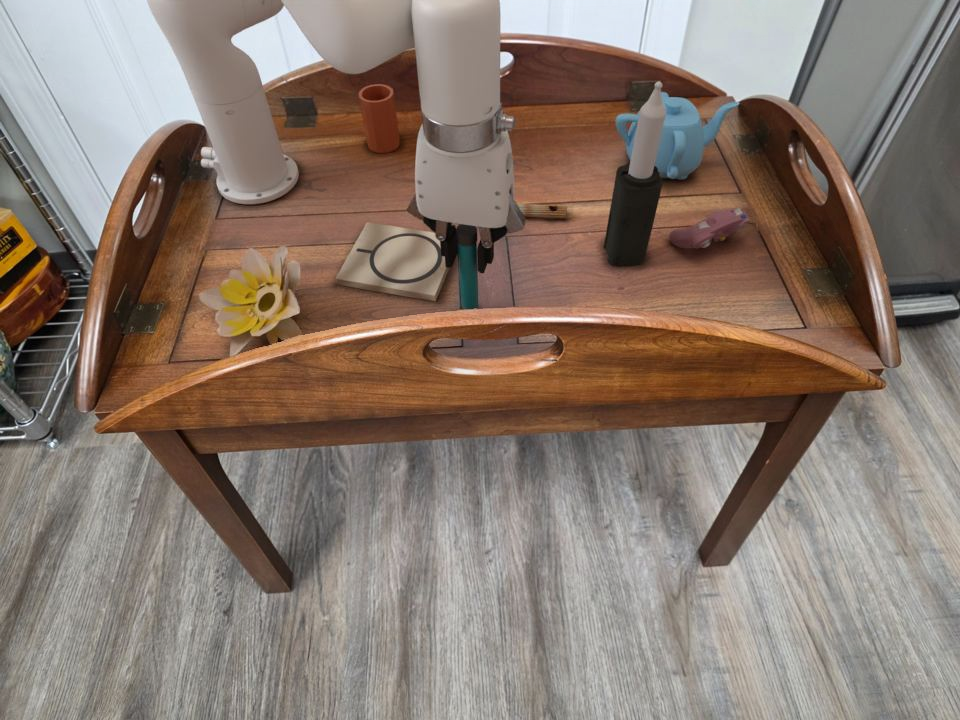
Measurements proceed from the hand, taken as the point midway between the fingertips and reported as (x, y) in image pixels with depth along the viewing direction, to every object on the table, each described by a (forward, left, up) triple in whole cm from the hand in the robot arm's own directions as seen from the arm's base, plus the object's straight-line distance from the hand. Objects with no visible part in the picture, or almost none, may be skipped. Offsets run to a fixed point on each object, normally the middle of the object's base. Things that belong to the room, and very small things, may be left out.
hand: (467, 261), depth 77 cm
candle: (+18, +16, -9) cm, 26 cm away
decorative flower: (-26, -7, -9) cm, 28 cm away
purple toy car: (+29, +21, -9) cm, 37 cm away
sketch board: (-12, +7, -9) cm, 17 cm away
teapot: (+22, +38, -9) cm, 45 cm away
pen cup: (-24, +34, -9) cm, 43 cm away
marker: (0, 0, -9) cm, 9 cm away
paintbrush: (-1, +20, -9) cm, 22 cm away
